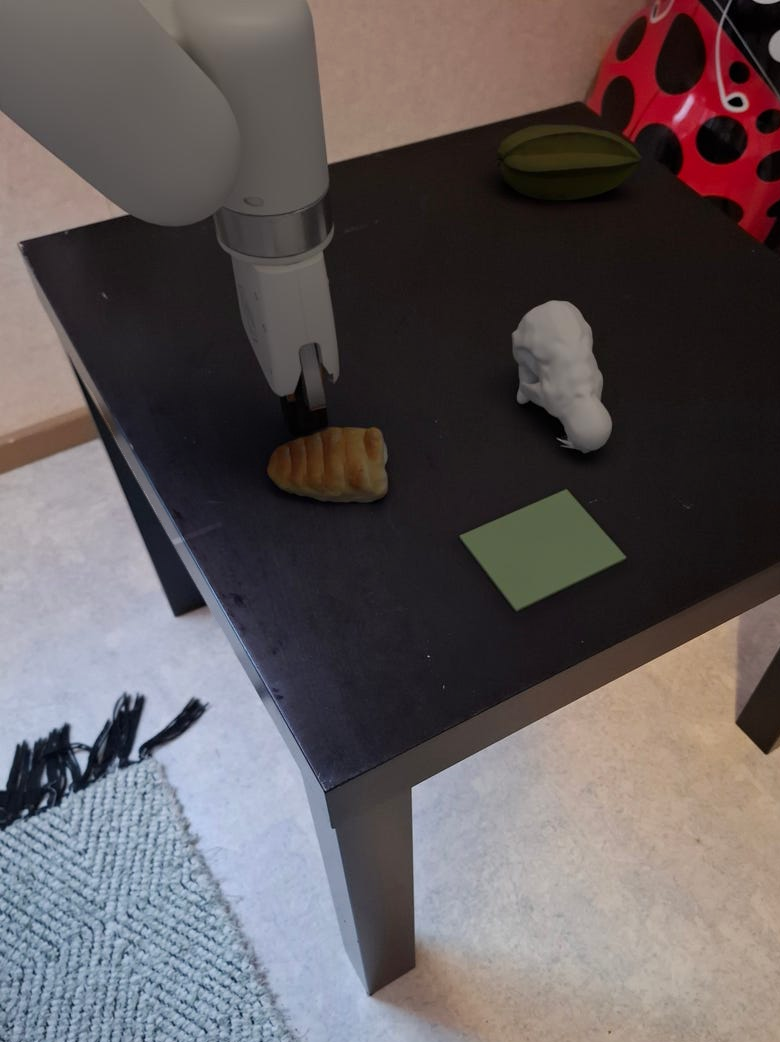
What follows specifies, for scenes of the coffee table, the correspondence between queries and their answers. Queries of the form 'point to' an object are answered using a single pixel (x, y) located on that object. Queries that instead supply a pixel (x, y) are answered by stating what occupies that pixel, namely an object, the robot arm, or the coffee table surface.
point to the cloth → (541, 549)
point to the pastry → (333, 465)
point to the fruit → (565, 161)
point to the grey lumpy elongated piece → (562, 372)
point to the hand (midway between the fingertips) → (306, 425)
